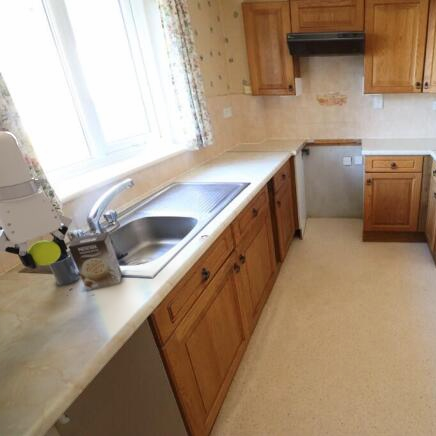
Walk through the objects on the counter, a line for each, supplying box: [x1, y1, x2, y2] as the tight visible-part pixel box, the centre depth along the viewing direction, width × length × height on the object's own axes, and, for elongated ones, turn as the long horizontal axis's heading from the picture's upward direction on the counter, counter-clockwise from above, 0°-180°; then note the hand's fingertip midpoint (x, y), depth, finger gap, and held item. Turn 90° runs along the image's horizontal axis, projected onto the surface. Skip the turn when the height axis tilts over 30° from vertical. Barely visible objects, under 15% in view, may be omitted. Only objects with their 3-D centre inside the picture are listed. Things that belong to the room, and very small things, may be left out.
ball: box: [27, 239, 61, 266], centre depth 77 cm, size 6×6×6 cm
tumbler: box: [48, 253, 81, 287], centre depth 101 cm, size 6×6×9 cm
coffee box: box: [68, 231, 123, 291], centre depth 98 cm, size 9×6×16 cm
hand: (47, 259), depth 78 cm, fingers closed on ball, 5 cm apart
